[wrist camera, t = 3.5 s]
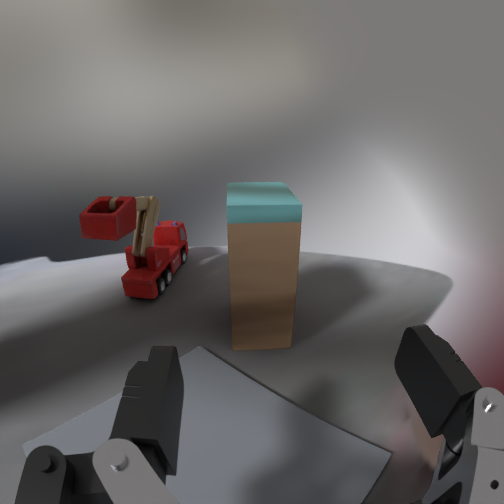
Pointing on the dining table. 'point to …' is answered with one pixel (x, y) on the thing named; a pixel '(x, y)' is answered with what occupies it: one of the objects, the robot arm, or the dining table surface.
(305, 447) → the grey mat
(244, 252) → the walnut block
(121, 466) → the robot arm
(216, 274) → the dining table surface
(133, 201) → the toy fire truck
